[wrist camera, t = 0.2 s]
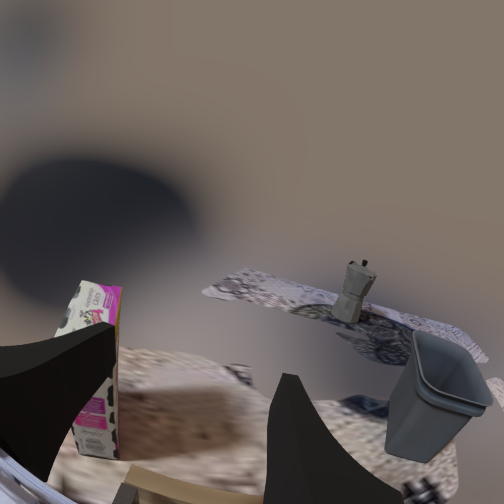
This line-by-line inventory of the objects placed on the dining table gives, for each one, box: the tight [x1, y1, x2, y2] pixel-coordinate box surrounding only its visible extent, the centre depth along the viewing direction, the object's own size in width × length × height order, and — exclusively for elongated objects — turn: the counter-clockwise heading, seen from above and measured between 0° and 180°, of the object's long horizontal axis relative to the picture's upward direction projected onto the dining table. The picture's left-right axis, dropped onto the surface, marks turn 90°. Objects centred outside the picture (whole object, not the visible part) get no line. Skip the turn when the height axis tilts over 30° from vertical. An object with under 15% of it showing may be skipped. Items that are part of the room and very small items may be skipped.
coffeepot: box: [331, 260, 376, 324], centre depth 78 cm, size 15×9×18 cm, turn 4°
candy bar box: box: [55, 281, 122, 460], centre depth 23 cm, size 11×5×16 cm, turn 20°
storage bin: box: [385, 330, 493, 463], centre depth 32 cm, size 21×16×14 cm
